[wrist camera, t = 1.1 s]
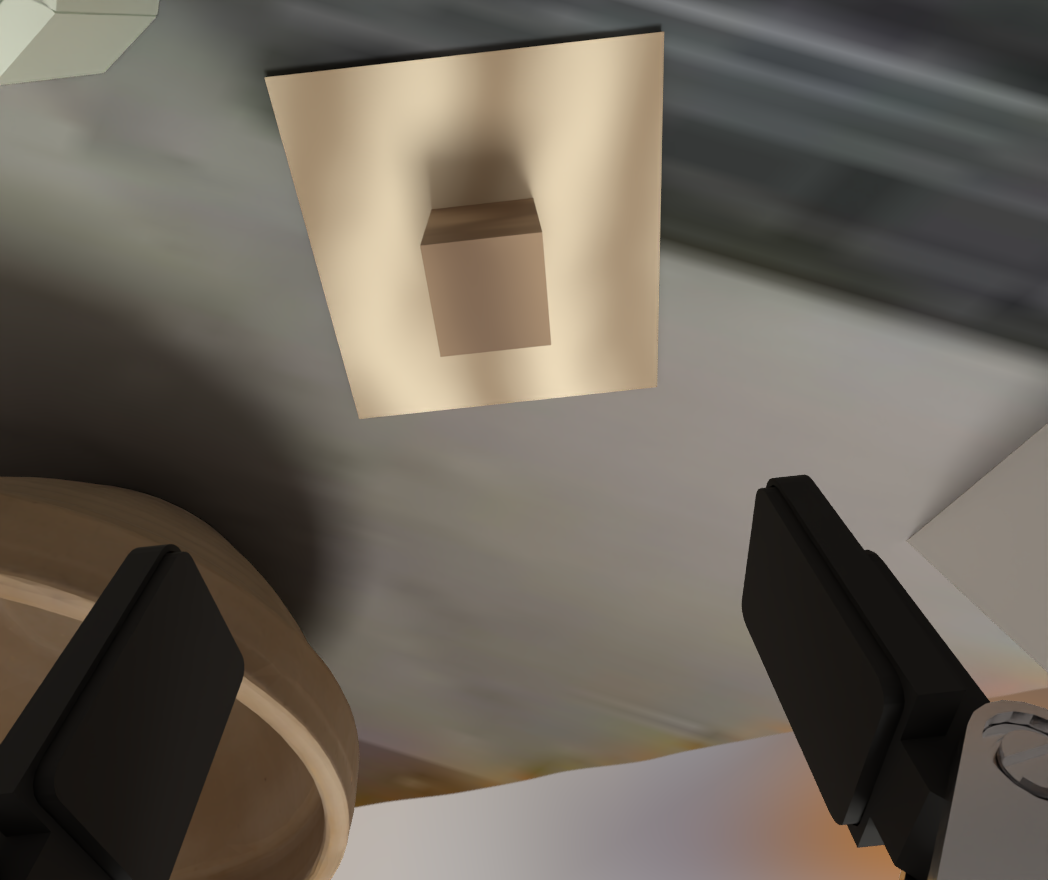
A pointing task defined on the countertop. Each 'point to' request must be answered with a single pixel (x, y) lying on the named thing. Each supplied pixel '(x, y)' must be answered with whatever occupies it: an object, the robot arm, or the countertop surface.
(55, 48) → the bowl
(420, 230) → the lid
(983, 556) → the grater
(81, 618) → the flower pot
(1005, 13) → the countertop surface
